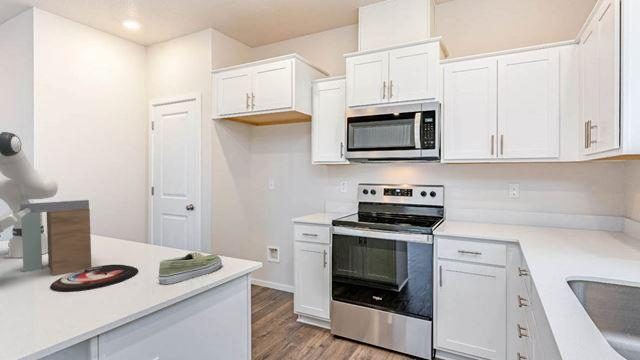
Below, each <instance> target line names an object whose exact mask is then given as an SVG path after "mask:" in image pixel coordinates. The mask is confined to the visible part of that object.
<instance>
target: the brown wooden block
mask: <svg viewBox="0 0 640 360" xmlns="http://www.w3.org/2000/svg"><path fill="white" fill-rule="evenodd" d="M90 211H91V210H90V208H89V209H79V210H65V211H52V212H45V213H46V236H47V239H48V253H47V257H48V258H47V260H48V261H47V262H48V267H49V269H50V271H51V274H52V276H60V275H67V274H70V273H72V272H75V271H78V270H82V269H86V268H91V267H92V242H91V241H92V240H91V239H92V238H91V214H90V213H91V212H90Z"/></svg>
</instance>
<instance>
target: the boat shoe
mask: <svg viewBox="0 0 640 360" xmlns="http://www.w3.org/2000/svg"><path fill="white" fill-rule="evenodd" d="M222 265H223V260H222V258H221V257H220V256H219V255H217V254H209V255H204V254H202V253H200V252H198V251H197V252H194V251H193V252H189V253H187V254H186V255H185V256H180V257H174V258H168V259H163V260H161V261H160V262H159V268H158V269H159V270H158V277H157V278H158V282H159V284H161V285H171V284H172V285H173V284H176V283H180V282H182V281H186V280H189V279H192V278H197V277H200V276H201V277H202V276H205V275H208V274H212V273H214V272H215V271H217V270H218V269H220V268H221V267H222Z"/></svg>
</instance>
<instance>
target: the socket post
mask: <svg viewBox="0 0 640 360" xmlns="http://www.w3.org/2000/svg"><path fill="white" fill-rule="evenodd" d="M21 224H22V248H23V257H22V268H23V272H24V273H27V272H28V273H29V272H32V271H38V270H39V271H40V270H43V254H42V245H41V220H40V212H38V213H27V214H26V215H24V216H23V217H21Z"/></svg>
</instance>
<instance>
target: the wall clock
mask: <svg viewBox="0 0 640 360" xmlns="http://www.w3.org/2000/svg"><path fill="white" fill-rule="evenodd" d="M138 272H139V269H138V268H137V267H134V266H131V265H125V264H105V265H98V266H91V268H86V269H82V270H78V271H75V272H72V273H66V274H64V276H62V277H60V278H58V279H55V280H54V282H52V283H51V284H50V289H51V290H52V291H56V292H62V293H68V292H69V293H71V292H81V291H82V292H83V291H88V290H89V291H90V290H95V289H98V288H104V287H105V288H106V287H108V286H112V285H115V284H118V283H122V282H124V281H127V280H129V279H131V278H132V277H134V276H135V275H137V274H138Z"/></svg>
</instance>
